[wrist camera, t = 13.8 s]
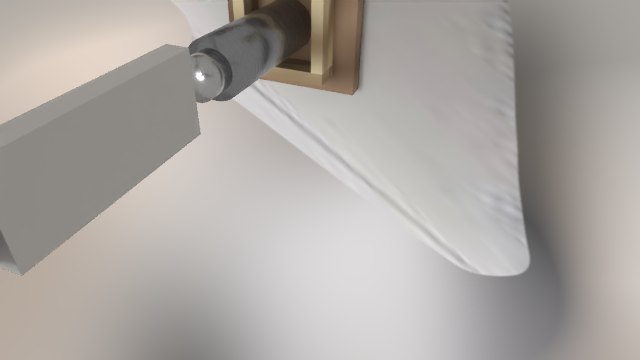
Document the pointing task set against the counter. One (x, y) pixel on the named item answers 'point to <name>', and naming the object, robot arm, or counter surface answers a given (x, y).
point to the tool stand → (319, 45)
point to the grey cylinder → (247, 49)
